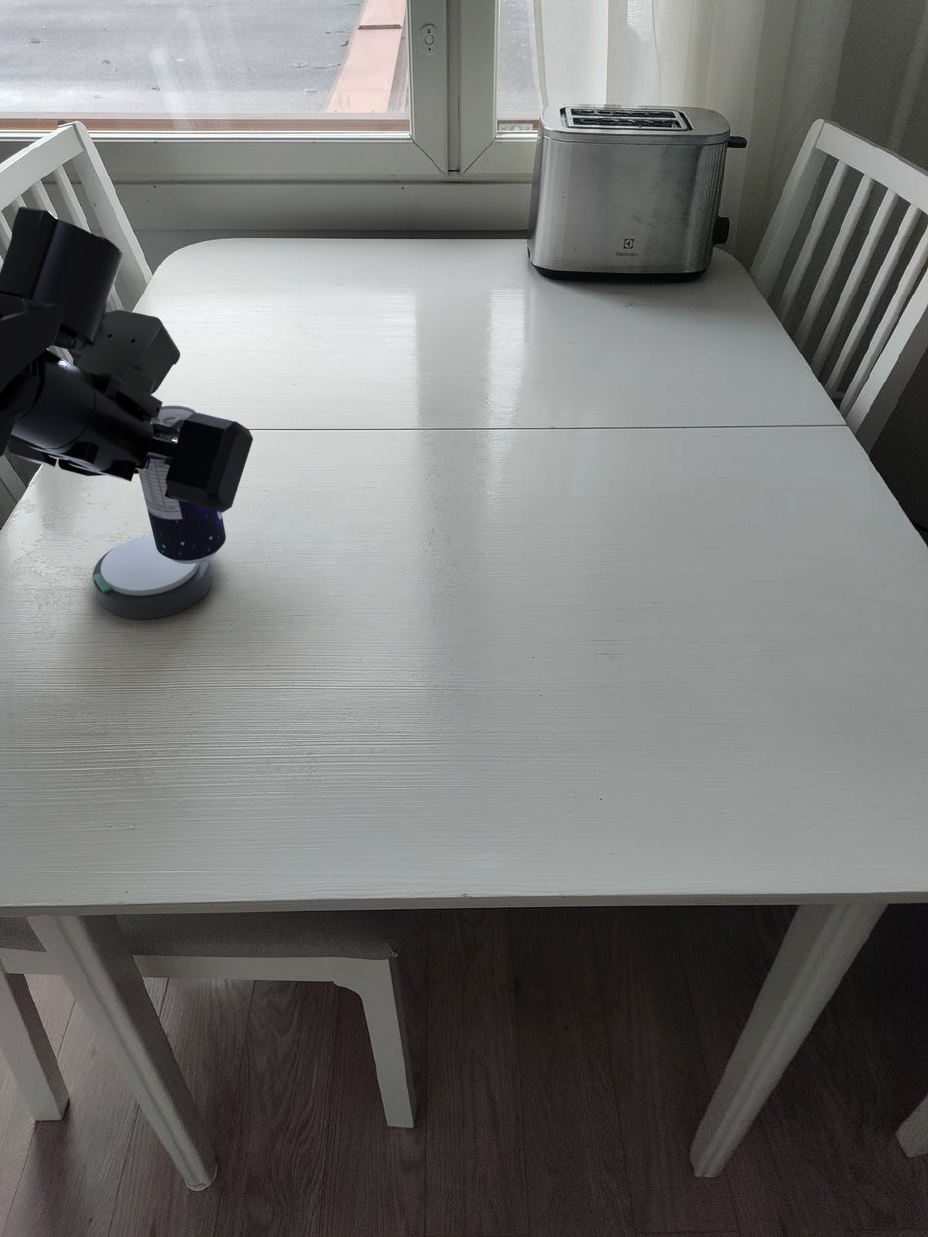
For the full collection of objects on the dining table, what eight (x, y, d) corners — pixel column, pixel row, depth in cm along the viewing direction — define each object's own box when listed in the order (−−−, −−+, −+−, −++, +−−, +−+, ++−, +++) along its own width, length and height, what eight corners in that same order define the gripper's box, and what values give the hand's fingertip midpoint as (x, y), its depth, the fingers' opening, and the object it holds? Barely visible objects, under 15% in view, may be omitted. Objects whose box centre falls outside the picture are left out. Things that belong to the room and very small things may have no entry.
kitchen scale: (122, 635, 80) (115, 611, 79) (81, 576, 87) (74, 553, 85) (231, 591, 85) (227, 568, 83) (185, 538, 91) (180, 516, 90)
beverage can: (224, 567, 78) (200, 436, 71) (153, 571, 78) (121, 439, 70) (229, 528, 83) (207, 401, 75) (162, 532, 82) (133, 404, 74)
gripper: (216, 313, 60) (320, 401, 75) (-14, 268, 65) (125, 358, 80) (161, 482, 59) (277, 537, 74) (-66, 423, 65) (84, 485, 80)
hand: (189, 473), depth 77 cm, fingers closed on beverage can, 5 cm apart
